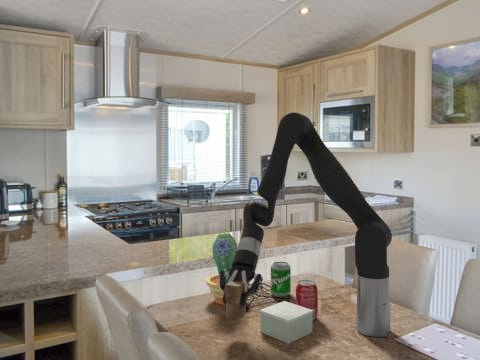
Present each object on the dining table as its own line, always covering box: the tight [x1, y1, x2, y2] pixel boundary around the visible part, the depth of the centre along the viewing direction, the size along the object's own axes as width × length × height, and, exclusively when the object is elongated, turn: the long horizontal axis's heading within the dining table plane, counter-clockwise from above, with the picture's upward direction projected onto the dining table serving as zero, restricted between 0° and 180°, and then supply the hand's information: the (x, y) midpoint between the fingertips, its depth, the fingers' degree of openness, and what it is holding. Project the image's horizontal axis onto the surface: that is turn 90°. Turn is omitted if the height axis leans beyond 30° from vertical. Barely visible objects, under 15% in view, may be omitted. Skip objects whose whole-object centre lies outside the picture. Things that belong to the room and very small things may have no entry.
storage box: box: [259, 300, 313, 345], centre depth 130 cm, size 11×11×7 cm
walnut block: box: [225, 281, 247, 321], centre depth 127 cm, size 4×4×10 cm
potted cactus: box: [205, 232, 238, 306], centre depth 157 cm, size 15×15×25 cm
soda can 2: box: [295, 279, 319, 322], centre depth 140 cm, size 7×7×12 cm
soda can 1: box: [270, 261, 292, 298], centre depth 164 cm, size 8×8×12 cm
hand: (233, 304), depth 125 cm, fingers closed on walnut block, 4 cm apart
